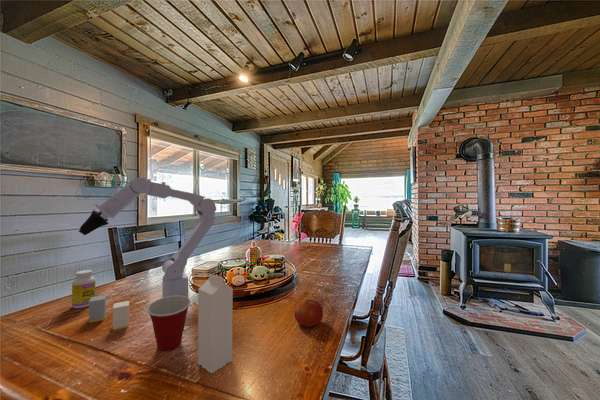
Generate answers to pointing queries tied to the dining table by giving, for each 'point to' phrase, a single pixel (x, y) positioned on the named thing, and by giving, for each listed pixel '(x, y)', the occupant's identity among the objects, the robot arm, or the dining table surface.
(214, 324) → the milk
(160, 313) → the plastic cup
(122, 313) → the cream block
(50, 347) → the dining table surface
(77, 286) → the supplement bottle
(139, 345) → the dining table surface
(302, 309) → the tomato
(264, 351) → the dining table surface
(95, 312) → the grey block
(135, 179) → the robot arm
